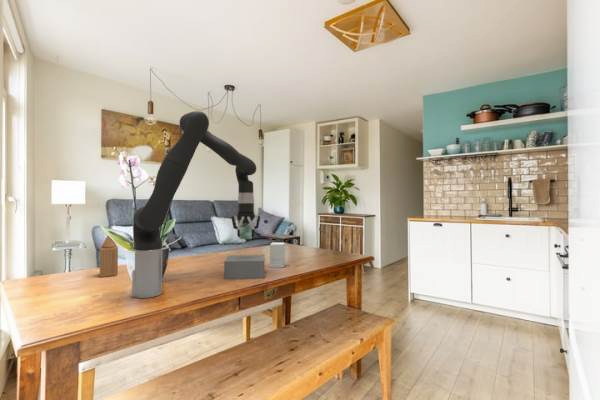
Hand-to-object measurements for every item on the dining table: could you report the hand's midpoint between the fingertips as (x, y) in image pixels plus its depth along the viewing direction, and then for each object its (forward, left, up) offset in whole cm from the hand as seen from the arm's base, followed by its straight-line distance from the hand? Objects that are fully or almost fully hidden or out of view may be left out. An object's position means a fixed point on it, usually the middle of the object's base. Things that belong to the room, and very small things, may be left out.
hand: (246, 237), depth 143 cm
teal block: (0, 0, -1) cm, 1 cm away
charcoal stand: (0, 0, -18) cm, 18 cm away
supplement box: (+16, +16, -18) cm, 29 cm away
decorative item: (-64, +4, -18) cm, 67 cm away
